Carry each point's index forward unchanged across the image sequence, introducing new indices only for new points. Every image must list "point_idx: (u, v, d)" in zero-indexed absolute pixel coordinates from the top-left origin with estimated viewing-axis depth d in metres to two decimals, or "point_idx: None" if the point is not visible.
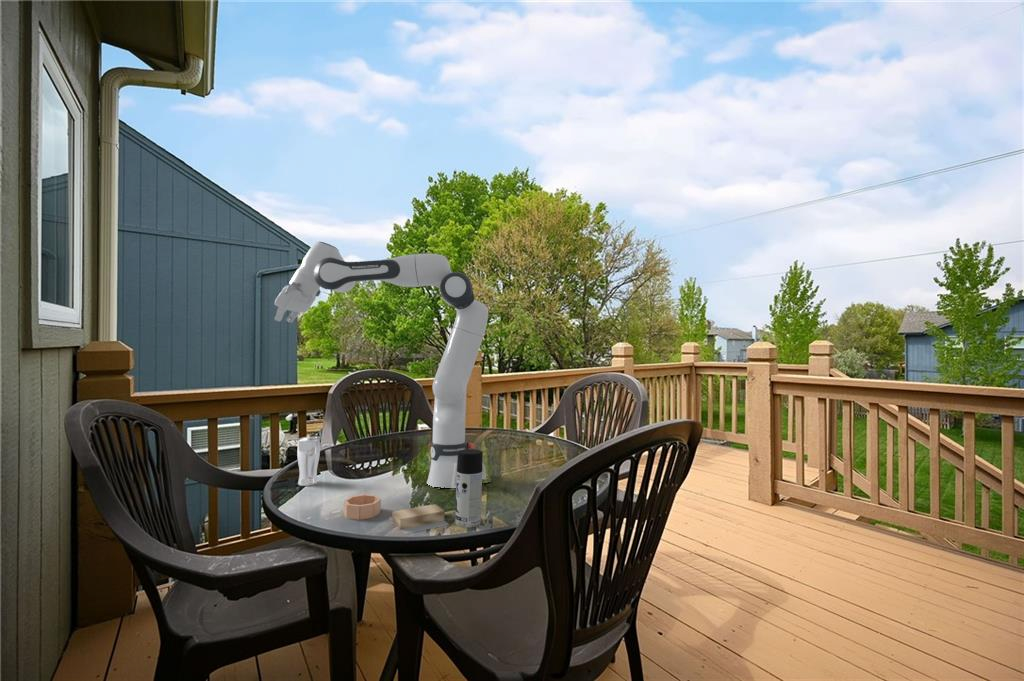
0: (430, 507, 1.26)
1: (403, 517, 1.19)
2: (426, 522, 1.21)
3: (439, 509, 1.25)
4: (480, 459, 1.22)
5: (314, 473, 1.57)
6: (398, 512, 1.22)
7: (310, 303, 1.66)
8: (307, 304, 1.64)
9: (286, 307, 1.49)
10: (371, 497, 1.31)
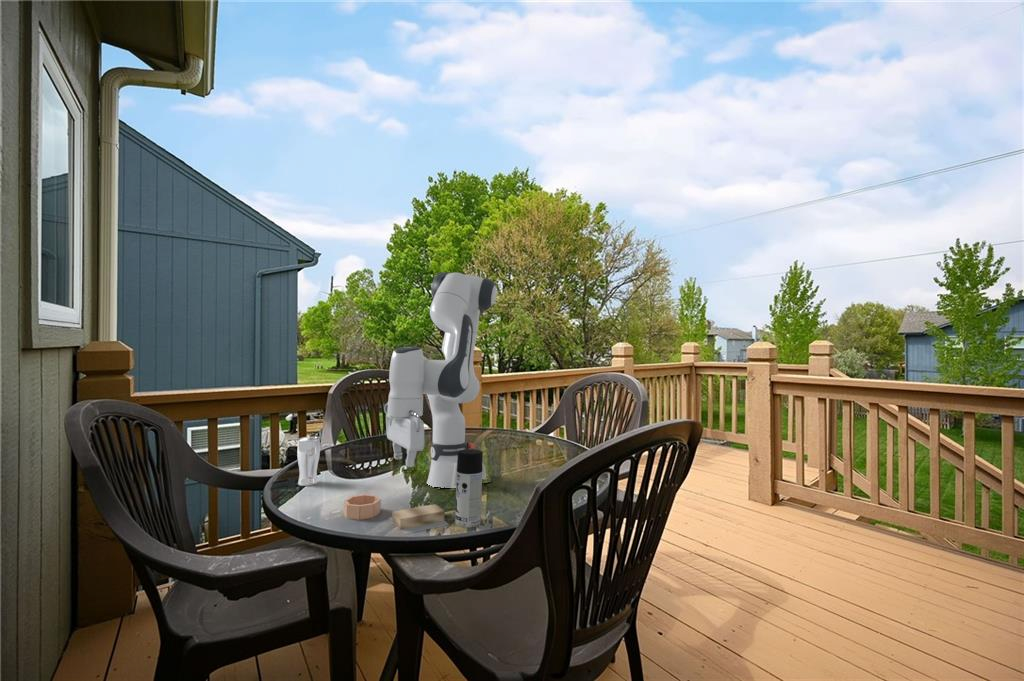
0: (430, 507, 1.26)
1: (403, 517, 1.19)
2: (426, 522, 1.21)
3: (439, 509, 1.25)
4: (480, 459, 1.22)
5: (314, 473, 1.57)
6: (398, 512, 1.22)
7: None
8: None
9: None
10: (371, 497, 1.31)
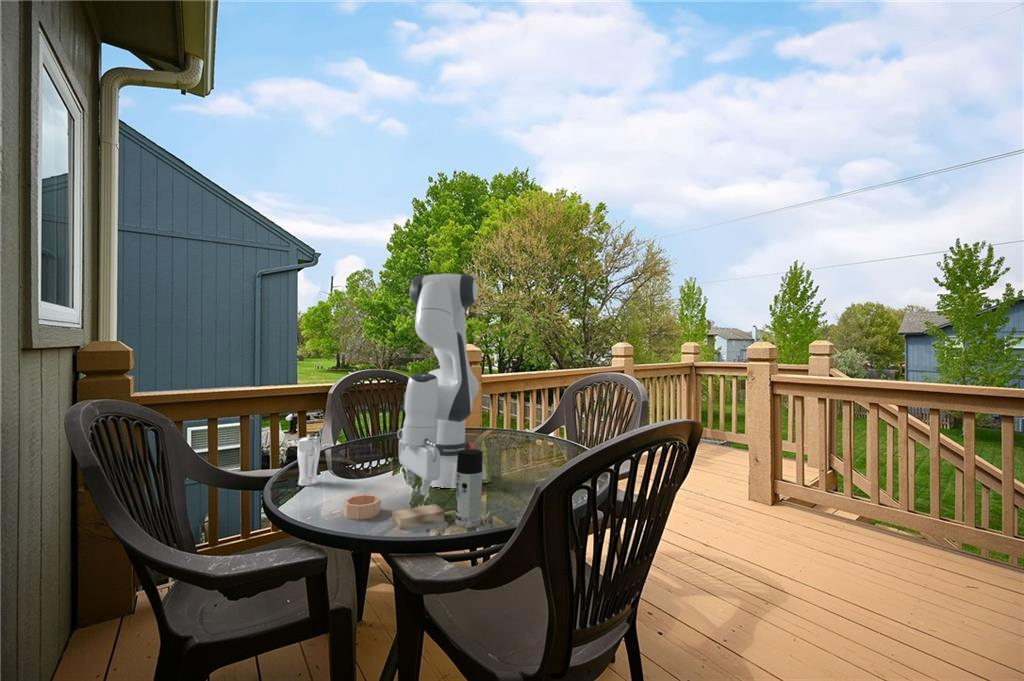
0: (430, 507, 1.26)
1: (403, 517, 1.19)
2: (426, 522, 1.21)
3: (439, 509, 1.25)
4: (480, 459, 1.22)
5: (314, 473, 1.57)
6: (398, 512, 1.22)
7: None
8: None
9: None
10: (371, 497, 1.31)
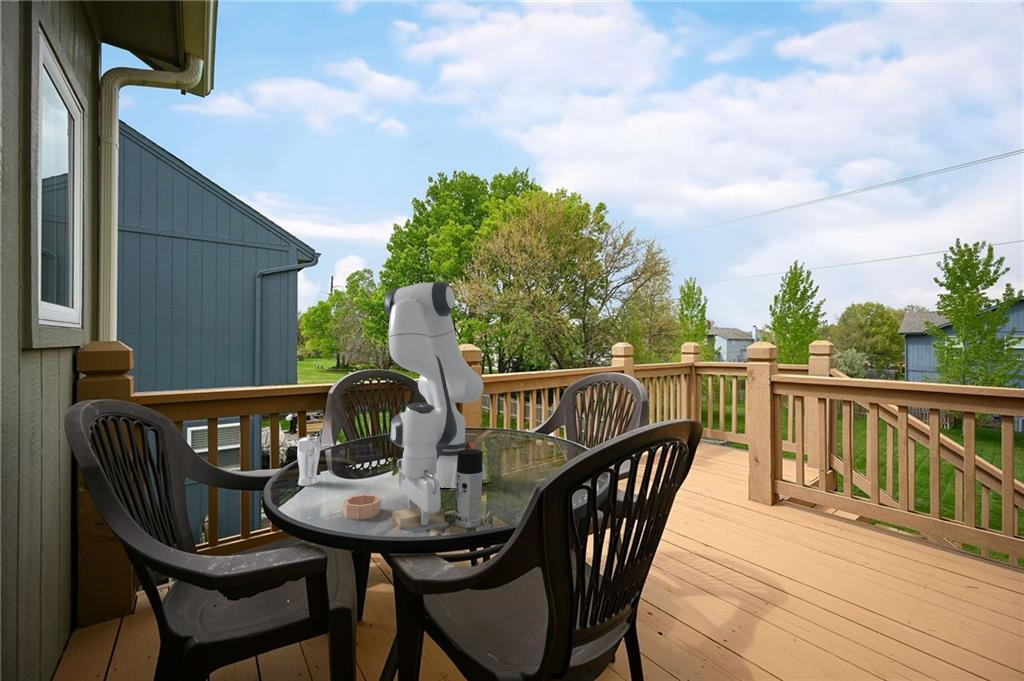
0: None
1: (403, 517, 1.19)
2: None
3: None
4: (480, 459, 1.22)
5: (314, 473, 1.57)
6: (398, 512, 1.22)
7: None
8: None
9: None
10: (371, 497, 1.31)
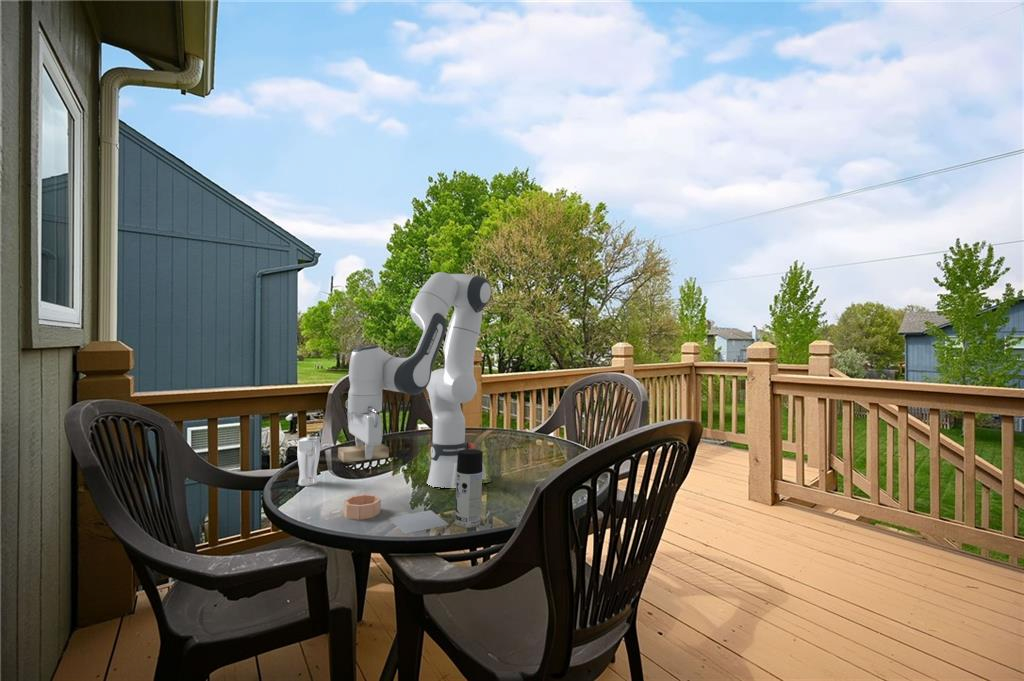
0: (376, 445, 1.31)
1: (347, 451, 1.23)
2: None
3: (384, 446, 1.30)
4: (480, 459, 1.22)
5: (314, 473, 1.57)
6: (343, 448, 1.26)
7: None
8: None
9: None
10: (371, 497, 1.31)
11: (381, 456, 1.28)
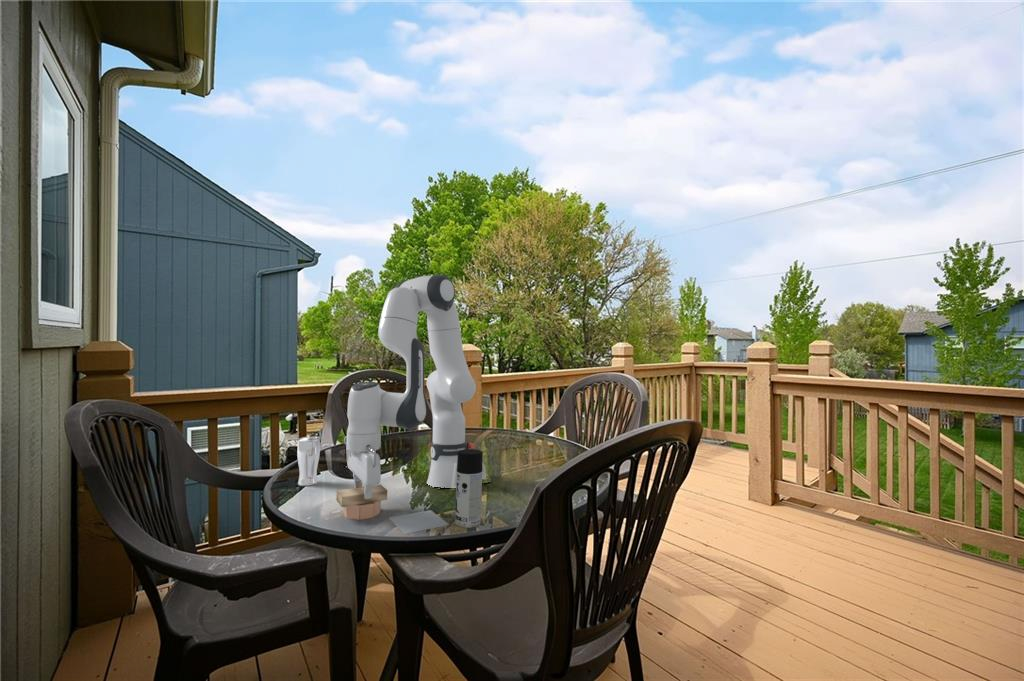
0: (374, 487, 1.31)
1: (345, 495, 1.23)
2: (368, 501, 1.26)
3: (382, 489, 1.30)
4: (480, 459, 1.22)
5: (314, 473, 1.57)
6: (342, 491, 1.26)
7: None
8: None
9: None
10: None
11: (379, 499, 1.28)
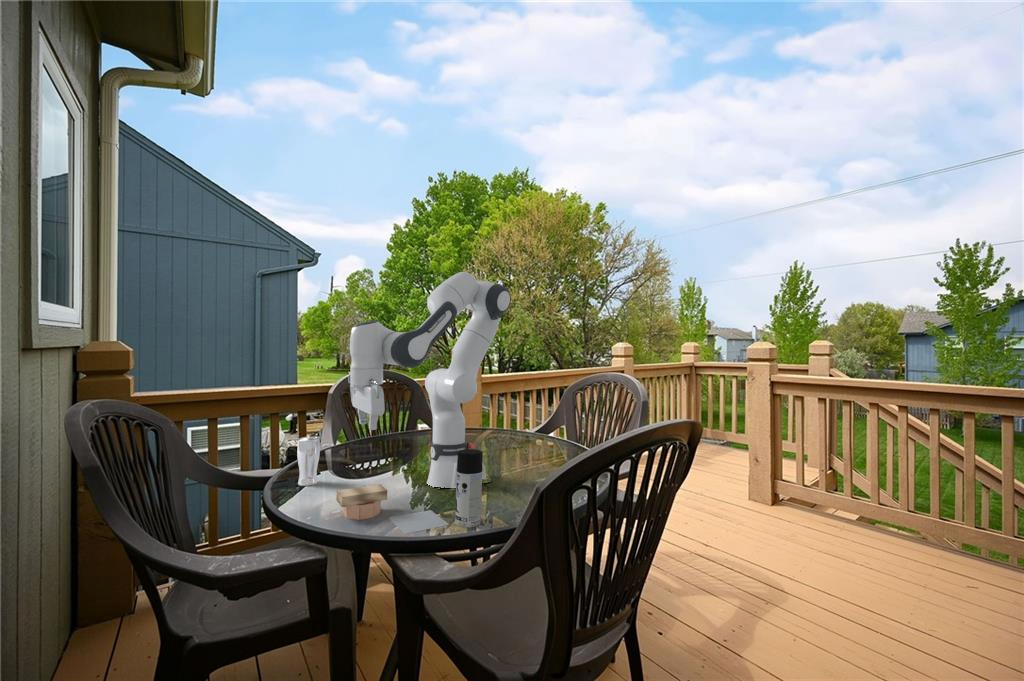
0: (374, 487, 1.31)
1: (345, 495, 1.23)
2: (368, 501, 1.26)
3: (382, 489, 1.30)
4: (480, 459, 1.22)
5: (314, 473, 1.57)
6: (342, 491, 1.26)
7: None
8: None
9: None
10: None
11: (379, 499, 1.28)
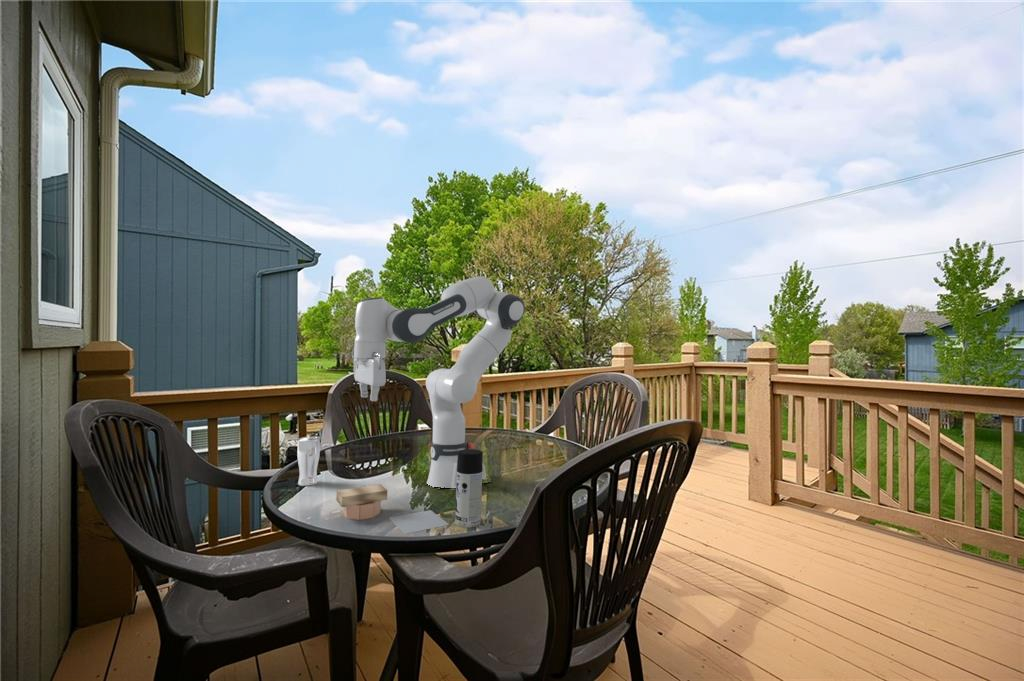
0: (374, 487, 1.31)
1: (345, 495, 1.23)
2: (368, 501, 1.26)
3: (382, 489, 1.30)
4: (480, 459, 1.22)
5: (314, 473, 1.57)
6: (342, 491, 1.26)
7: None
8: None
9: None
10: None
11: (379, 499, 1.28)
